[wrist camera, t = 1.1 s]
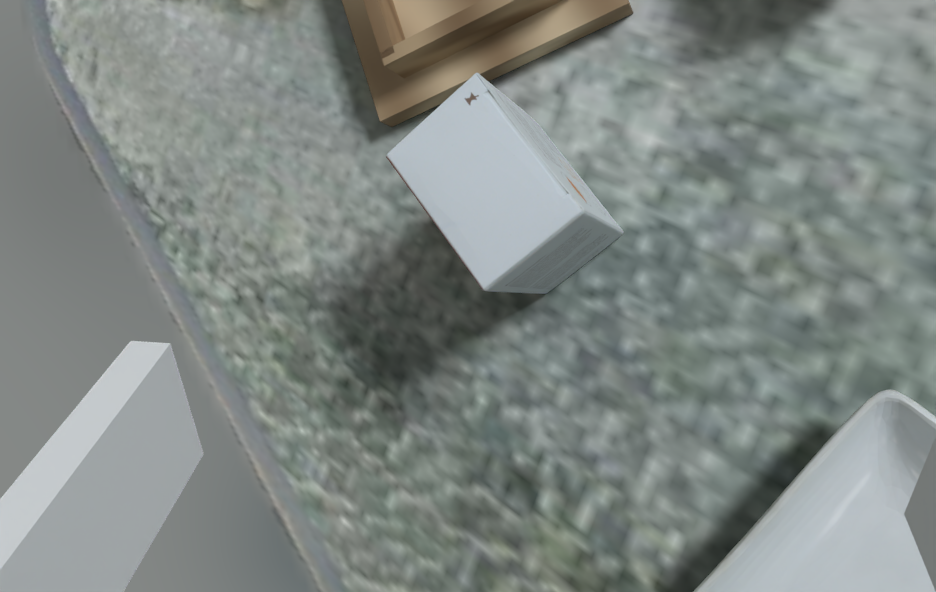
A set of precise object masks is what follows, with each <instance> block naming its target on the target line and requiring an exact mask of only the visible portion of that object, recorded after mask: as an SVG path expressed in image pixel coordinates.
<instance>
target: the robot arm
mask: <svg viewBox="0 0 936 592" xmlns="http://www.w3.org/2000/svg"><path fill="white" fill-rule="evenodd" d="M203 454H204V453H203V450H202V447H201V443H200V440H199V437H198V434H197V430H196V427H195V424H194V420H193V417H192V414H191V411H190V407H189V404H188V400H187V397H186V394H185V391H184V387H183V384H182V380H181V377H180V374H179V370H178V367H177V364H176V360H175V357H174V354H173V350H172V347H171V344H170V343H154V342H139V341H130V342H129V344H128V345H127V346H126V347H125V348H124V350H123V351H122V352H121V353H120V355H119V356H118V357H117V358H116V359H115V361H114V362H113V363H112V364H111V365H110V367H109V368H108V369H107V370H106V371H105V373H104V374H103V375H102V376H101V378H100V379H99V380H98V381H97V382H96V384H95V385H94V386H93V387H92V389H91V390H90V391H89V392H88V394H87V395H86V396H85V397H84V398H83V399H82V401H81V402H80V403H79V404H78V405H77V407H76V408H75V409H74V410H73V411H72V413H71V414H70V415H69V416H68V418H67V419H66V420H65V421H64V423H63V424H62V425H61V426H60V427H59V429H58V430H57V431H56V432H55V433H54V435H53V436H52V437H51V438H50V439H49V441H48V442H47V443H46V444H45V445H44V447H43V448H42V449H41V450H40V451H39V453H38V454H37V455H36V456H35V458H34V459H33V460H32V461H31V462H30V464H29V465H28V466H27V467H26V468H25V470H24V471H23V472H22V473H21V474H20V476H19V477H18V478H17V479H16V481H15V482H14V483H13V484H12V485H11V487H10V488H9V489H8V490H7V491H6V493H5V494H4V495H3V497H2V498H1V499H0V592H123V591H124V590H125V588H126V586H127V584H128V583H129V581H130V579H131V578H132V576H133V574H134V573H135V571H136V569H137V567H138V566H139V564H140V562H141V561H142V559H143V557H144V555H145V554H146V552H147V550H148V548H149V547H150V545H151V543H152V542H153V540H154V538H155V536H156V535H157V533H158V531H159V530H160V528H161V526H162V524H163V523H164V521H165V519H166V518H167V516H168V514H169V512H170V510H171V509H172V507H173V506H174V504H175V502H176V500H177V499H178V497H179V495H180V493H181V492H182V490H183V488H184V487H185V485H186V483H187V482H188V480H189V478H190V476H191V475H192V473H193V471H194V469H195V468H196V466H197V464H198V463H199V461H200V459H201V457H202V456H203ZM904 515H905V518H906V520H907V522H908V525H909V527H910V530H911V532H912V535H913V537H914V540H915V542H916V545H917V547H918V550H919V552H920V555H921V557H922V559H923V562H924V564H925V567H926V569H927V572H928V574H929V577H930V579H931V582H932V584H933V587H934V589H935V592H936V437H935V440H934V442H933V444H932V447H931V449H930V452H929V454H928V457H927V459H926V461H925V464H924V466H923V469H922V471H921V474H920V476H919V478H918V481H917V483H916V486H915V488H914V491H913V493H912V495H911V498H910V500H909V503H908V505H907V508H906V510H905V512H904Z"/></svg>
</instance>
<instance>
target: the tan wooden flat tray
mask: <svg viewBox="0 0 936 592" xmlns="http://www.w3.org/2000/svg"><path fill="white" fill-rule="evenodd" d="M342 3H343V6H344V9H345V12H346V16H347V19H348V22H349V25H350V28H351V31H352V34H353V38H354V41H355V44H356V47H357V50H358V53H359V57H360V60H361V63H362V66H363V69H364V72H365V76H366V79H367V82H368V85H369V88H370V91H371V94H372V98H373V101H374V104H375V107H376V110H377V113H378V117H379V120H380V122H382V123H384V124H386V125H388V126H390V127H393V126H395V125H397V124H399V123H401V122H404V121H406V120H408V119H410V118H412V117H414V116H416V115H418V114H421V113H423V112H425V111H427V110H429V109H431V108H433V107H435V106H438V105H440V104H442V103H443V102H444V101H445V100H446V99H448V98H449V97H450V96H451V95H452V94H453V93H454V92H455V91H456V90H457V89H459V88H460V87H461V86H462V85H463V84H464V83H465V82H466V81H467V80H469V79H470V78H471V77H472V76H473V75H474V74H475V73H479V74H480V75H481V76H482V77H483V78H485V79H486V80H487V81H488V82H489V81H491V80H493V79H495V78H497V77H499V76H501V75H503V74H506V73H508V72H510V71H512V70H514V69H516V68H518V67H520V66H523V65H525V64H527V63H529V62H531V61H533V60H535V59H537V58H540V57H542V56H544V55H546V54H548V53H550V52H552V51H554V50H557V49H559V48H561V47H563V46H565V45H567V44H569V43H571V42H574V41H576V40H578V39H580V38H582V37H584V36H586V35H588V34H591V33H593V32H595V31H597V30H599V29H601V28H603V27H605V26H608V25H610V24H612V23H614V22H616V21H618V20H620V19H622V18H625V17H627V16H629V15H631V14H633V11H632V8H631V6H630V3H629V0H342Z"/></svg>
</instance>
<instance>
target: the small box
mask: <svg viewBox="0 0 936 592" xmlns="http://www.w3.org/2000/svg"><path fill="white" fill-rule="evenodd" d="M386 158H387V159H388V160H389V161H390V163H391V164H392V166H393V167H394V168H395V170H396V171H397V172H398V174H399V175H400V177H401V178H402V179H403V181H404V182H405V183H406V185H407V186H408V188H409V189H410V190H411V192H412V193H413V194H414V196H415V197H416V199H417V200H418V201H419V203H420V204H421V205H422V207H423V208H424V210H425V211H426V212H427V214H428V215H429V216H430V218H431V219H432V221H433V222H434V223H435V225H436V226H437V228H438V229H439V230H440V232H441V233H442V234H443V236H444V237H445V239H446V240H447V241H448V243H449V244H450V245H451V247H452V248H453V250H454V251H455V252H456V254H457V255H458V257H459V258H460V259H461V261H462V262H463V264H464V265H465V266H466V268H467V269H468V270H469V272H470V273H471V274H472V276H473V277H474V279H475V280H476V281H477V283H478V284H479V286H480V287H481V289H482V290H483V291H487V292H511V293H535V294H546V293H548V292H549V291H551V290H552V289H553V288H555V287H556V286H557V285H559V284H560V283H561V282H563V281H564V280H565V279H567V278H568V277H569V276H570V275H572V274H573V273H574V272H576V271H577V270H578V269H579V268H581V267H582V266H583V265H584V264H586V263H587V262H588V261H590V260H591V259H592V258H593V257H595V256H596V255H597V254H598V253H600V252H601V251H602V250H604V249H605V248H606V247H607V246H609V245H610V244H611V243H612V242H614V241H615V240H616V239H617V238H619V237H620V236H621V235H622V234H623V230H622V229H621V228H620V226H619V225H618V224H617V223H616V222H615V220H614V219H613V218H612V217H611V215H610V214H609V213H608V211H607V210H606V209H605V208H604V206H603V205H602V204H601V203H600V201H599V200H598V199H597V198H596V196H595V195H594V194H593V192H592V191H591V190H590V189H589V187H588V186H587V185H586V184H585V182H584V181H583V180H582V179H581V177H580V176H579V175H578V174H577V172H576V171H575V170H574V169H573V167H572V166H571V165H570V163H569V162H568V161H567V160H566V158H565V157H564V156H563V155H562V153H561V152H560V151H559V150H558V148H557V147H556V146H555V144H554V143H553V142H552V141H551V139H550V138H549V137H548V136H547V134H546V133H545V132H544V130H543V129H542V128H541V126H540V125H539V124H538V123H537V122H536V121H535V120H534V119H533V118H531V117H530V116H529V115H528V114H527V113H526V112H525V111H523V110H522V109H521V108H520V107H519V106H518V105H516V104H515V103H514V102H513V101H512V100H510V99H509V98H508V97H507V96H505V95H504V94H503V93H502V92H500V91H499V90H498V89H496V88H495V87H494V86H493V85H492V84H491V83H490V82H488V81H487V80H486V79H485V78H483V77H482V76H481V75H480V74H479V73H475V74H474V75H473V76H472V77H471V78H470V79H469V80H467V81H466V82H465V83H464V84H463V85H462V86H461V87H460V88H459V89H457V90H456V91H455V92H454V93H453V94H452V95H451V96H450V97H449V98H448V99H446V100H445V101H444V102H443V103H442V104H441V105H440V106H439V107H438V108H437V109H435V110H434V111H433V112H432V113H431V114H430V115H429V116H428V117H427V118H426V119H425V120H423V121H422V122H421V123H420V124H419V125H418V126H417V127H416V128H415V129H414V130H412V131H411V132H410V133H409V134H408V135H407V136H406V137H405V138H404V139H403V140H402V141H400V142H399V143H398V144H397V145H396V146H395V147H394V148H393V149H392V150H391V151H390V152H389V153H387V155H386Z"/></svg>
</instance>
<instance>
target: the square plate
mask: <svg viewBox="0 0 936 592" xmlns="http://www.w3.org/2000/svg"><path fill="white" fill-rule="evenodd" d="M935 437H936V417H935V416H934V415H933V414H931V413H930V412H929V411H927V410H926V409H925V408H923V407H922V406H921V405H919V404H918V403H916V402H915V401H913V400H912V399H911V398H909V397H907V396H905V395H903V394H901V393H899V392H897V391H895V390H884V391H881V392H878V393H877V394H875V395H874V396H873V397H871V398H870V399H869V400H868V401H867V402H865V403H864V404H863V405H862V406H861V407H860V408H859V409H858V410H857V411H855V412H854V413H853V414H852V415H851V417H850V418H849V419H848V420H847V421H846V422H845V423H844V424H843V425H842V426H841V427H840V428H839V429H838V430H837V431H836V432H835V433H834V434H833V436H832V437H831V438H830V439H829V440H828V441H827V442H826V443H825V444H824V445H823V446H822V448H821V449H820V450H819V451H818V452H817V453H816V455H815V456H814V457H813V458H812V459H811V460H810V461H809V463H808V464H807V465H806V466H805V467H804V468H803V469H802V471H801V472H800V473H799V474H798V475H797V476H796V477H795V479H794V480H793V481H792V482H791V483H790V484H789V486H788V487H787V488H786V489H785V490H784V491H783V492H782V494H781V495H780V496H779V497H778V498H777V499H776V500H775V502H774V503H773V504H772V505H771V506H770V507H769V508H768V510H767V511H766V512H765V513H764V514H763V515H762V516H761V518H760V519H759V520H758V521H757V522H756V523H755V524H754V526H753V527H752V528H751V529H750V530H749V531H748V532H747V534H746V535H745V536H744V537H743V538H742V539H741V540H740V541H739V542H738V543H737V545H736V546H735V547H734V548H733V549H732V550H731V551H730V552H729V553H728V554H727V555H726V557H725V558H724V559H723V560H722V561H721V562H720V563H719V564H718V565H717V566H716V568H715V569H714V570H713V571H712V572H711V573H710V574H709V575H708V576H707V577H706V578H705V580H704V581H703V582H702V583H701V584H700V585H699V586H698V587H697V588H696V589H695V590H694V591H693V592H935V589H934V587H933V584H932V582H931V579H930V577H929V574H928V572H927V569H926V567H925V564H924V562H923V559H922V557H921V555H920V552H919V550H918V547H917V545H916V542H915V540H914V537H913V535H912V532H911V530H910V527H909V525H908V522H907V520H906V518H905V515H904V512H905V510H906V508H907V505H908V503H909V500H910V498H911V495H912V493H913V491H914V488H915V486H916V483H917V481H918V478H919V476H920V474H921V471H922V469H923V466H924V464H925V461H926V459H927V457H928V454H929V452H930V449H931V447H932V444H933V442H934V440H935Z"/></svg>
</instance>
